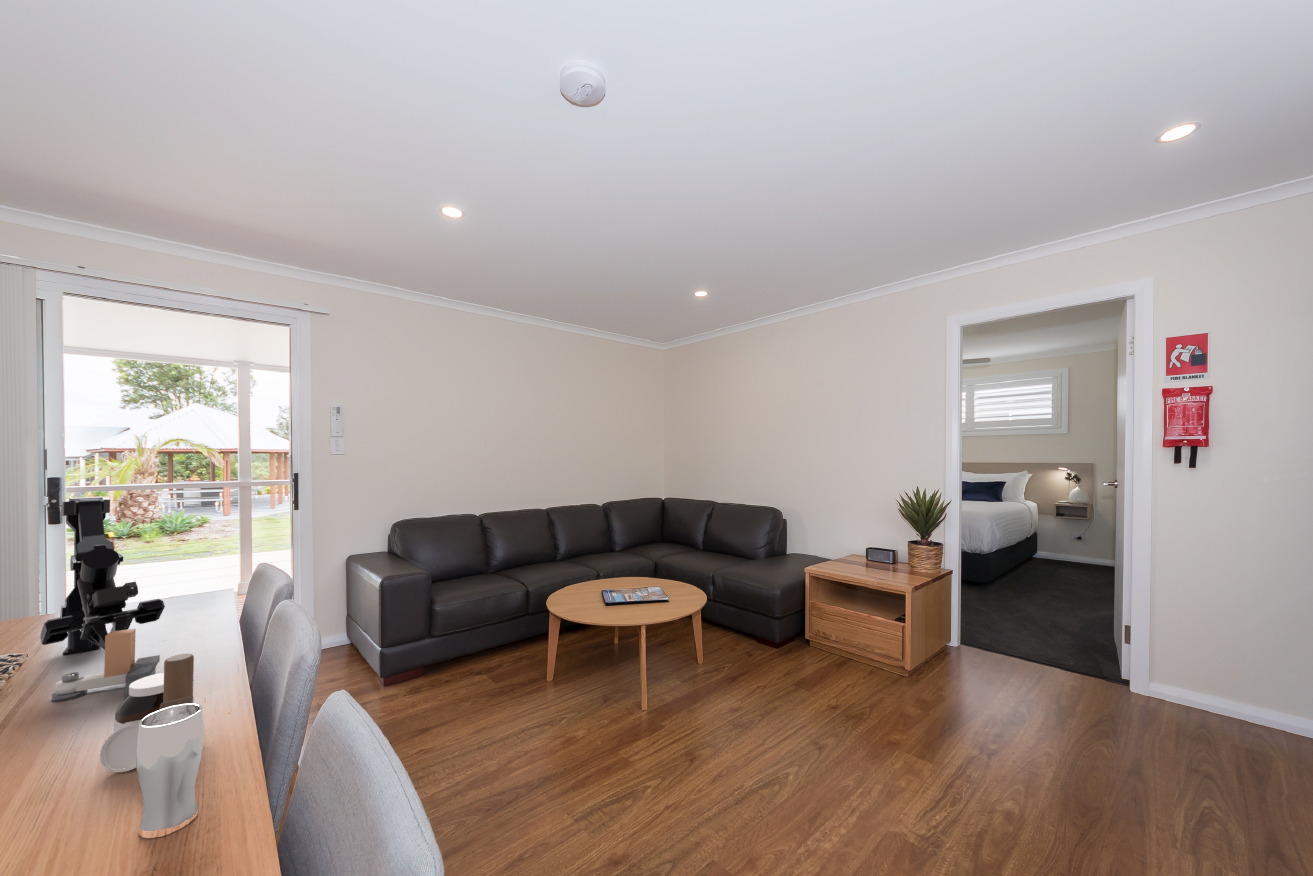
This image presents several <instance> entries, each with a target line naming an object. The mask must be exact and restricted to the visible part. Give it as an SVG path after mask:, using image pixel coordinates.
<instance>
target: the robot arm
mask: <svg viewBox="0 0 1313 876" xmlns="http://www.w3.org/2000/svg"><path fill="white" fill-rule="evenodd" d="M110 513H111V499H104V497H103V496H83V497H81V496H80V497H68V501H62V504H61V517H65V524H66V525H67V527H69V528H70V529H71V530H72V531H73V532H74V533H73V534H74V535H73V536H74V537H73V539H74V540H73V545H74V546H73V554H72V555H70V561H69V562H70V566H69V567H70V572H71V571H73V589H72V590H71V592H70V593H69V594H68V596H67V597H66V598H65V600H64V605H62V606H60V607H61V608H60V615H59V617H57V618H52V619H47V620H46V621H45V622H44V623H43V626H42V629H41V632H40V642H41V645H43V646H46V645H50V644H56V643H60V642H64V641H65V640H66V639H67V646H66V648H65V649H64V651H63V652H62V655H68V654H69V655H70V654H74V653H76V654H77V653H81V652H87V651H88V652H89V651H93V650H98V649H102V650H104V651H105V636H106V635H107V634H108V633H110V632H112V631H120V630H128V629H130V626H131V624H132V622H133V620H134V621H135V623H136V624H140V625H143V624H148V623H151V622H152V623H153V622H156V621H159V620H160V618H161V616H162V613H163V611H164V609H165V607H166V606H165V602H164V600H161V599H160V598H155V599H150V600H144V601H140V602H139V603H138V605H137V607H136V608H134V609H127V610H124V611H123V609H125V608H126V606H127V603H126V601H128V600H129V599H130V598H134V597H135V598H136V596H138V594H139V588H138V587H139V586H138V585H137V582H136V581H130V582H125V583H124V584H122V585H121V586H117V585H116V583H115V579H114V578H115V576H116V574H117V569H118V566H120V564H121V563H123V562H124V555H121V554H120V552H119V551H118V550H115V547H114V542H113V541H111V540H109V539H108V538H106V532H105V526H104V520H105V519H106V515H107V514H110ZM109 624H111V630H110V631H109V632H108V630H107V625H109Z"/></svg>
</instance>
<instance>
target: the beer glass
mask: <svg viewBox="0 0 1313 876" xmlns="http://www.w3.org/2000/svg"><path fill="white" fill-rule="evenodd" d="M204 732H205V730H204V717H203V705H201V704H199V703H194V704H181V705H176V706H171V707H167V708H164V709H161V710H158V711H156V712H153V713H151V714H149V715H147V716H145V717H144V718H143V719H141V720H140V722H139V729H138V736H137V744H136V768H135V769H136V773H137V779H138V783H139V786H140V787H139V788H140V792H141V797H142V804H143V805H142V806H143V807H142V814H141V819H140V824H139V827H138V828H140V829H141V830H144V831H156V830H161V829H166V828H171V827H175V826H177V825H179V824H181V823H182V822H184V821H185V820H188V819H190V818H191V817H193V815H195V814H196V812H197V810H198V811H199V807H198V802H197V799H196V781H197V777H198V773H199V769H200V764H201V759H202V755H203V750H204V749H203V748H204V739H205V737H204V736H205V733H204Z"/></svg>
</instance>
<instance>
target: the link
mask: <svg viewBox="0 0 1313 876" xmlns="http://www.w3.org/2000/svg"><path fill="white" fill-rule="evenodd" d="M107 633H108V634H107V635H106V636H105V650H104V671H103V672H104V673H103V672H101V673H97V674H91V675H82V676H80V675H79V678H78V679H77V680H74V681H70V682H62V679H61V680H58V681H57V682H56V683H55V692H56V694H57V695H63V694H69V693H73V692H76V691H82V690H94V689H99V688H105V687H112V686H118V685H123V684H124V685H125V682H126V675H127V673H128V672H129V671H130V669H131V668H132V666H133V665H134V664H135V662H136V661H135V660H136V628H129V629H127V630H120V631H112V632H110V631H109V632H107ZM156 670H157V667H156V668H155V674H157V673H156V672H157V671H156Z"/></svg>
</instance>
